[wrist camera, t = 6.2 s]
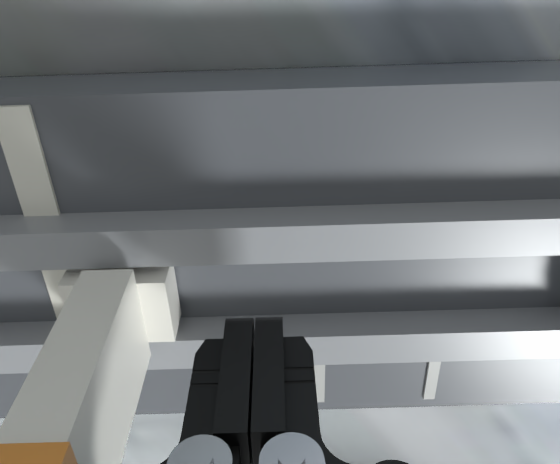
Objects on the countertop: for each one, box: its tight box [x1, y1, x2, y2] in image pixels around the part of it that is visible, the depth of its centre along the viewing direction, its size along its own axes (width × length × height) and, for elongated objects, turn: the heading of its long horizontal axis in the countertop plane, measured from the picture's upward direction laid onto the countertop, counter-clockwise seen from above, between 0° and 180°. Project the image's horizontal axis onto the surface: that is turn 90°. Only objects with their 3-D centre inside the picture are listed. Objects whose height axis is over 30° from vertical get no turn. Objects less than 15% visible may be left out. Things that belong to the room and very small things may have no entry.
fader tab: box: [0, 266, 181, 464], centre depth 13 cm, size 3×3×8 cm
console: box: [0, 60, 560, 418], centre depth 17 cm, size 24×12×3 cm, turn 92°
